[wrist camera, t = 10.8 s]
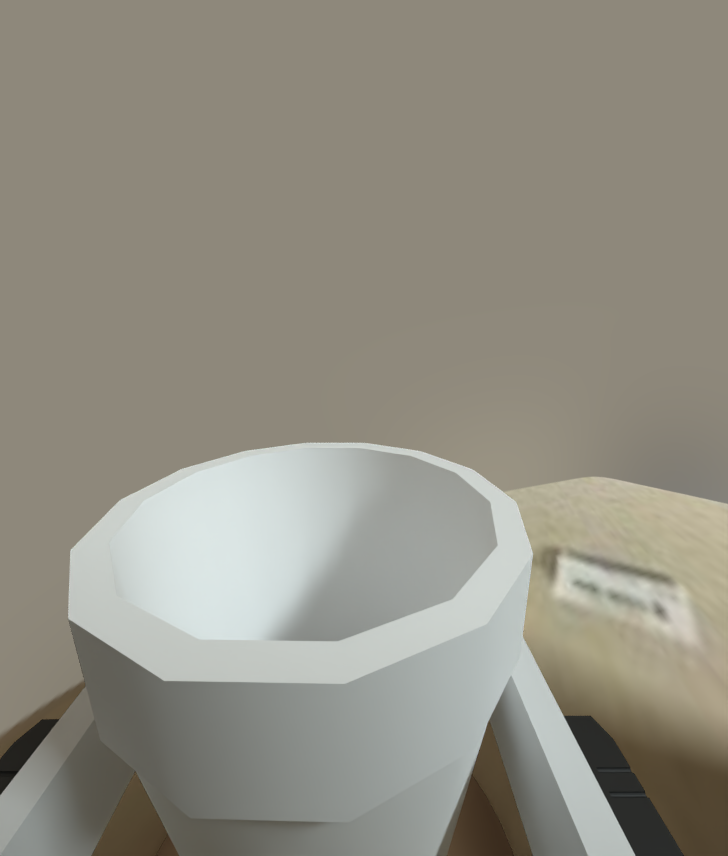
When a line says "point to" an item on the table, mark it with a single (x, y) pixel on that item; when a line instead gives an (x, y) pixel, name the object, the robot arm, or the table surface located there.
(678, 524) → the table surface
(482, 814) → the coaster
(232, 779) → the foam cup
